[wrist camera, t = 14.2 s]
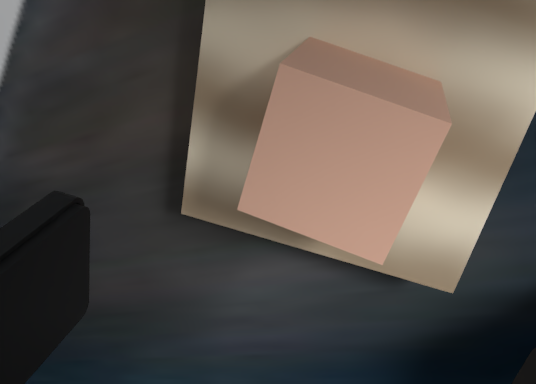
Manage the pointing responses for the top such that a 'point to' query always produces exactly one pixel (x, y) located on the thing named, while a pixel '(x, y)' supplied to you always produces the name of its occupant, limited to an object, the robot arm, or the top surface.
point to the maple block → (392, 52)
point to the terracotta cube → (344, 148)
